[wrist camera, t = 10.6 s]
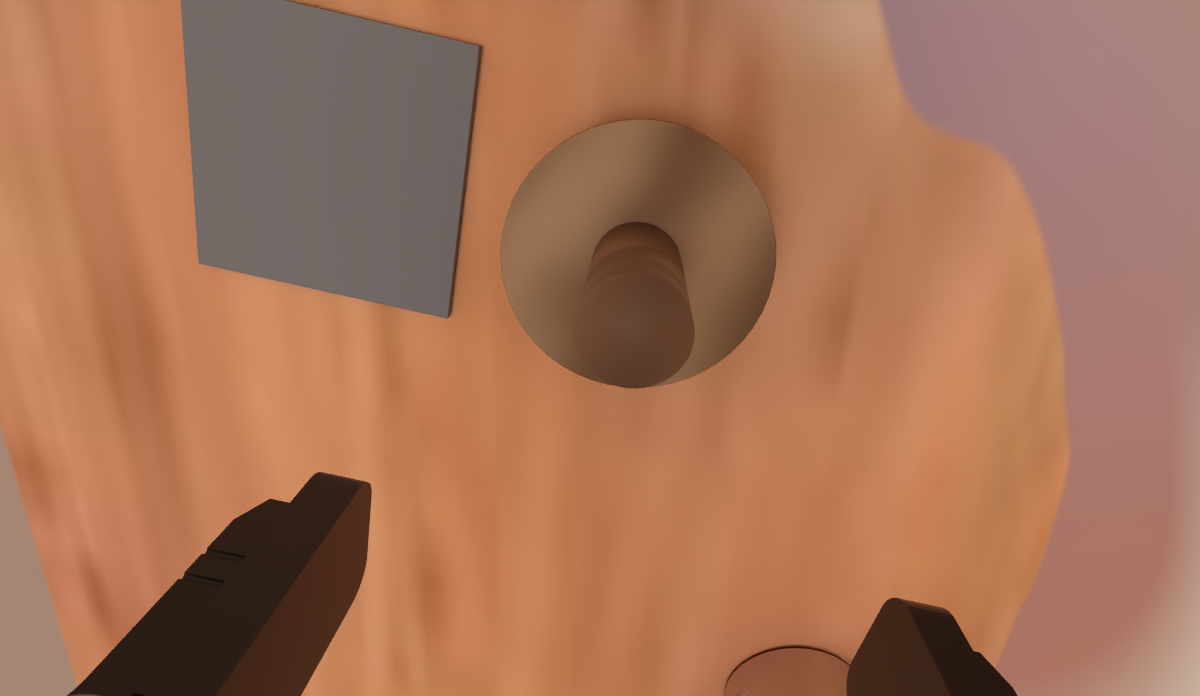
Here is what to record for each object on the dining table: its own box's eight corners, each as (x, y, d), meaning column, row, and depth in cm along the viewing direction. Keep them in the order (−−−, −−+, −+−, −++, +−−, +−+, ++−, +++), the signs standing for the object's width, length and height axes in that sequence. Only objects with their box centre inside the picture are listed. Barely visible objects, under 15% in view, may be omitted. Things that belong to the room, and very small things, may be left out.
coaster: (482, 46, 27) (479, 45, 26) (450, 315, 32) (447, 318, 32) (187, -23, 27) (179, -25, 26) (205, 260, 32) (198, 263, 31)
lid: (812, 155, 23) (886, 193, 16) (726, 402, 28) (754, 516, 21) (527, 89, 23) (475, 97, 16) (487, 349, 27) (434, 446, 20)
